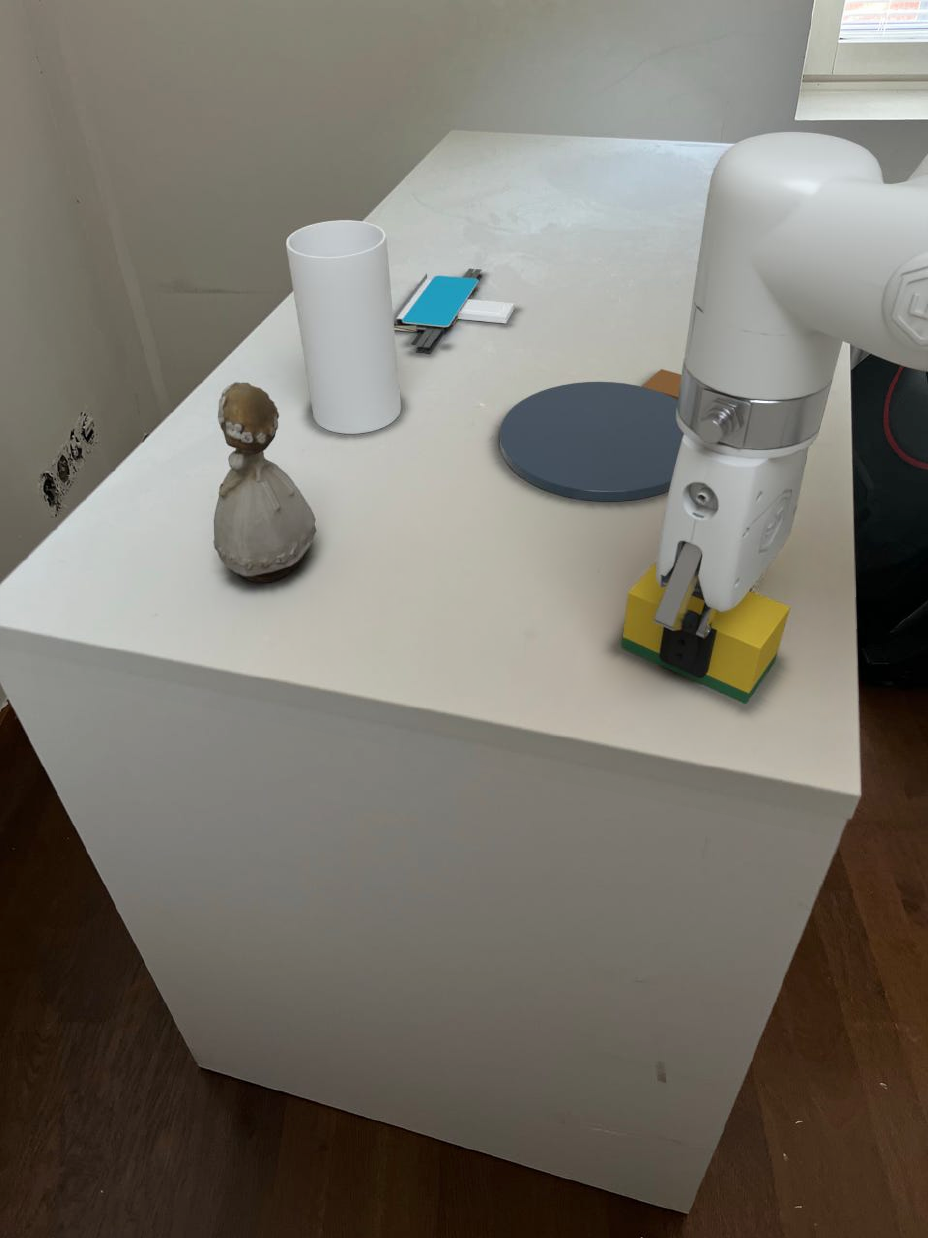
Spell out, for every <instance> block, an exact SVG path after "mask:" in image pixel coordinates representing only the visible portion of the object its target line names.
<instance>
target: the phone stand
mask: <svg viewBox="0 0 928 1238" xmlns="http://www.w3.org/2000/svg"><path fill="white" fill-rule="evenodd" d="M481 272H482V269H481V268H480V269H479V268H476V269H475V268H468V269H467V271H466V272H465V273H464V274H463V276H462V277H461V276H451V275H435V276H433V278H428V273H426V274H424V276H423V277H422V279H421V280H419V283H418V284H417V285H416V286H415V288H414V289H413V290H412V291H411V293H410V294H409V295H408V297H407V298H406V299H405V301H404V302H403V303H402V305H401V306H400V307H399V308H398V310H397V311H396V312H395V314H394V315H395V317H393V320H394V332H405V333H416V336H415V338H414V339H413V341H411V344H410V345H414V346H415V347H418V348H417V349H416V351H415V352H416V353H423V354H431V353H432V352H433V350H434V349H435V348H436V346H437V345H438V343H439V342H440V340H441V339H442V337H443V336H444V335H445V333H446V332H447V331H448V328H449V327H450V326H451V325H455V323H456V322H457V321H458V320H465V321H477V322H487V323H498V324H507V323H508V321H509V319H510V318H511V316H512V314H513V313H514V311H515V302H514V303H513V302H506V301H505V302H503V301H494V300H493V301H492V300H482V299H473V295H474V294H472V292H473V291H474V289H475V288H476V287H477V285H478V283H479V282H480V280H481V278H482V277H483V274H480V273H481Z"/></svg>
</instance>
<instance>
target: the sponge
mask: <svg viewBox="0 0 928 1238" xmlns="http://www.w3.org/2000/svg"><path fill="white" fill-rule="evenodd" d="M666 587H667V586H665V587H660V585H659V584H658V582H657V579H656V562H654V564H653V565H652V566H651V567H650V568H649V569H648V570H647V571H646V573H645V574H643V576H642V577H641V578H640V579H639V580H638V581H637V582H636V583H635V585H633V587H632V588H631V589H630V590H629V591H628V593H627V599H626V608H625V618H624V623H623V633H622V642H621V649H624V650H626V651H628V652H630V653H632V654H635V655H637V656H639V657H640V658H641V657H642V658H644V659H646V660H648V661H649V662H652V663H654V664H656V665H659V666H661V667H663V668H665V669H668V670H670V671H672V672H673V673H676V674H678V675H680V676H683V677H685V678H687V679H690V680H692V681H694V682H696V683H699V684H701V685H702V686H704V687H707V688H709V689H711V690H714V691H716V692H718V693H721V694H722V695H725V696H727V697H729V698H732V699H734V700H736V701H738V702H740V703H742V704H744V705H747V704H748V702H749V700H750V699H751V698H752V696H753V695H754V694H755V692H756V690H757V689H758V687H759V686H760V684H761V683H762V681H764V679H765V678H766V676H767V675H768V673H769V672H770V670H771V668H773V666H774V665H775V663H776V659H777V655H778V652H779V648H780V645H781V641H782V638H783V635H784V631H785V627H786V624H787V621H788V617H789V614H790V610H791V606H789V605H787V604H784V603H782V602H780V601H777V600H774V599H772V598H769V597H767V596H764V595H761V594H759V593H756V592H755V591H753V590H751V591H749V592H748V593H747V594H746V595H745V597H744V598H743V599H742V600H741V601H740V602H739V604H738V605H737V606H735V607H734V608H732V609H730V610H728V611H726V612H719V611H718V610H717V611H716V615H715V618H714V621H713V625H712V628H713V629H716V630H717V632H716V637H715V641H714V646H713V651H712V655H711V660H710V664H709V669H708V672H707V674H706V675H705V676H704V677H703V678H698V677H696V676H694V675H691V674H689V673H687V672H685V671H683V670H680V669H678V668H676V667H674V666H672V665H669V664H667V663H665V662H663V661H662V660H661V659H660V657H659V653H660V647H661V641H662V635H663V629H664V627H663V626H661V625H659V624H657V623H655V622H654V617H655V614H656V612H657V609H658V607H659V604H660V602H661V599H662V597H663V594H664V592H665V590H666ZM704 603H705V601H704V600H702V599H699V598H697V597H694V596H691V598H690V601H689V603H688V606H687V609H689V610H692V611H694V612H697V613H698V614H700V615H701V613H702V610H703V606H704Z"/></svg>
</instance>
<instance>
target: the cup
mask: <svg viewBox="0 0 928 1238" xmlns="http://www.w3.org/2000/svg"><path fill="white" fill-rule="evenodd" d="M285 243H286V244H285V245H286V247H285V248H286V254H287V259H288V267H289V272H290V273H289V274H290V277H291V278H290V280H291V285H292V292H293V299H294V303H295V310H296V316H297V323H298V328H299V329H298V330H299V334H300V335H299V336H300V341H301V349H302V353H303V354H302V355H303V360H304V366H305V372H306V378H307V384H308V385H307V386H308V391H309V398H310V403H311V404H310V405H311V410H312V416H313V420H314V421H315V423H316V424H317V425H318V426H319V427H321V428H322V429H325V430H327V431H330V432H333V433H337V434H342V435H343V434H344V435H345V434H346V435H358V434H365V433H370V432H375V431H377V430H381V429H383V428H385V427H387V426H389V425H390V424H392V423H393V422H395V420H397V419H398V417H399V416H400V414H401V411H402V402H401V394H400V393H401V391H400V390H401V389H400V379H399V368H398V356H397V345H396V344H397V343H396V333H395V332H396V331H394V321H395V320H394V319H393V318H394V310H393V297H392V288H391V286H392V285H391V275H390V263H389V255H388V254H389V253H388V243H387V236H386V232H385V231H384V229H383V228H381V227H380V226H378V225H376V224H373V223H370V222H366V221H360V220H351V219H350V220H349V219H340V220H339V219H338V220H329V221H322V222H321V221H320V222H317V223H312V224H310V225H306V226H304V227H301V228H299V229H297V230H295V231H294V232H292V233H291V234H289V236H287V238H286V241H285Z"/></svg>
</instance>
